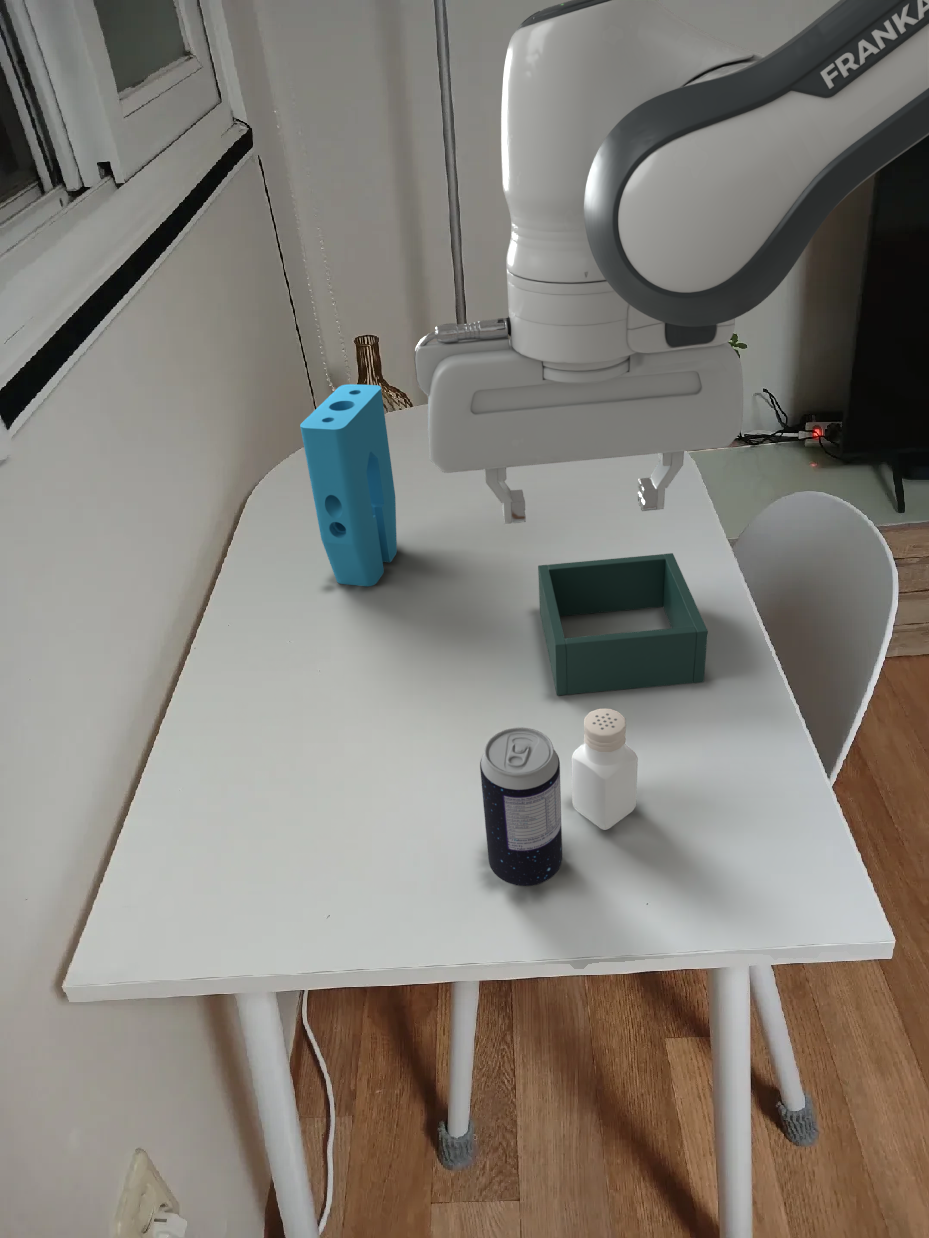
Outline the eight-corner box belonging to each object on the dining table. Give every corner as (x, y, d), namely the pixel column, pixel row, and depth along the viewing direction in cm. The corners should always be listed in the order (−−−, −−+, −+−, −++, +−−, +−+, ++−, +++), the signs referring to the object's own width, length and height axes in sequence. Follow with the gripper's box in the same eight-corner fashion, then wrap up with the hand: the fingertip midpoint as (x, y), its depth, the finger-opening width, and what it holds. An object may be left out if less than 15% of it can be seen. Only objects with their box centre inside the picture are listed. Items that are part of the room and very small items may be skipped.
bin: (670, 601, 102) (672, 552, 98) (703, 682, 90) (708, 631, 87) (539, 613, 102) (537, 565, 98) (556, 695, 90) (555, 645, 87)
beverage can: (568, 842, 75) (566, 728, 69) (554, 900, 71) (550, 783, 64) (499, 831, 77) (490, 718, 70) (481, 886, 72) (469, 772, 66)
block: (366, 538, 118) (342, 384, 107) (404, 542, 117) (383, 385, 105) (327, 591, 109) (296, 427, 97) (368, 595, 107) (341, 430, 96)
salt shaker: (569, 808, 78) (567, 721, 73) (603, 784, 80) (604, 697, 75) (604, 835, 76) (605, 746, 70) (639, 809, 78) (642, 721, 72)
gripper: (410, 344, 55) (433, 550, 63) (762, 312, 55) (741, 521, 63) (410, 311, 60) (430, 505, 68) (731, 282, 60) (715, 479, 68)
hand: (582, 513), depth 66 cm, fingers open, 8 cm apart
